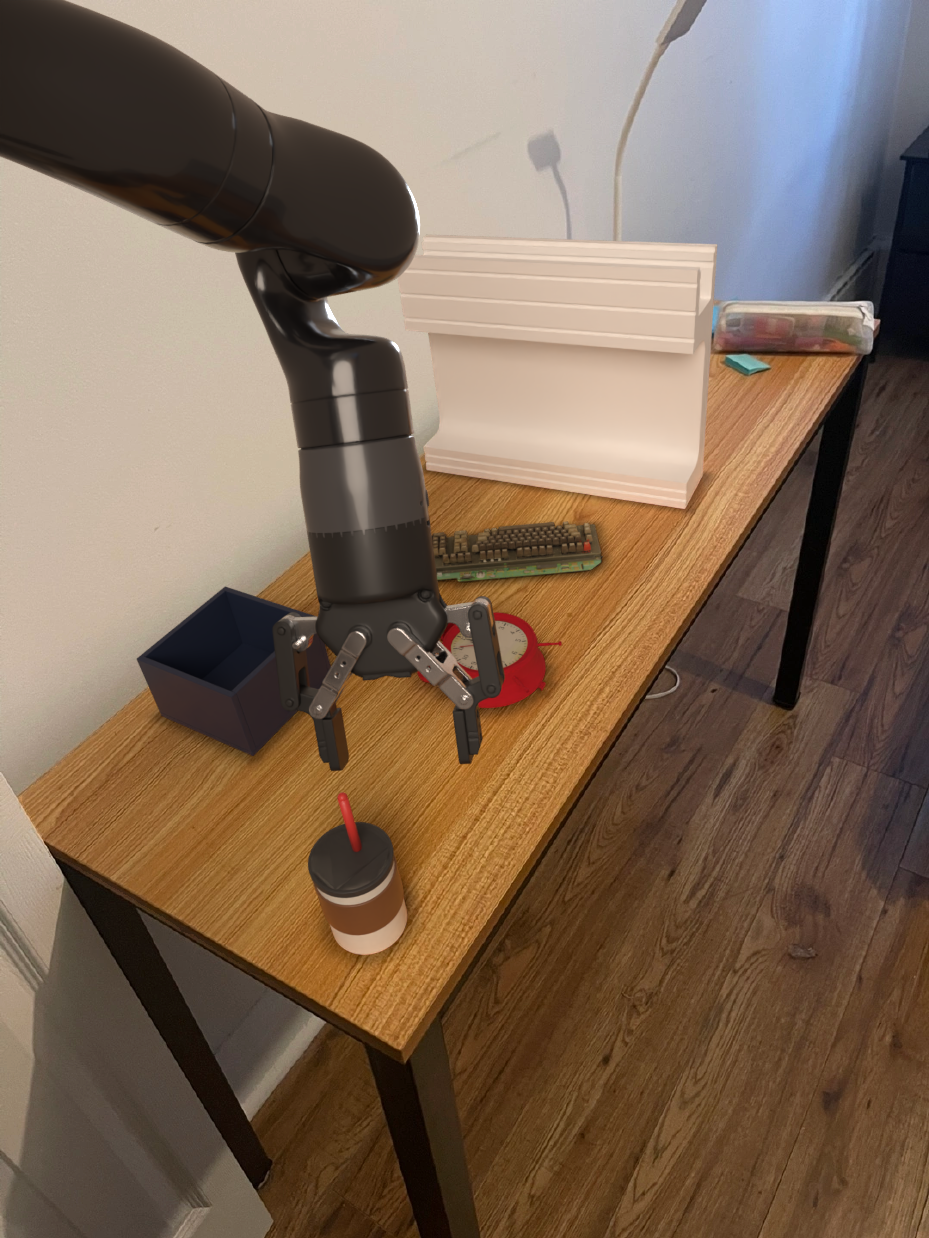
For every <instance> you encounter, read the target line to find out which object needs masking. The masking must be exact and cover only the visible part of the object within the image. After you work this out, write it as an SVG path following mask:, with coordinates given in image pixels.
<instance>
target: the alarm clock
mask: <svg viewBox="0 0 929 1238" xmlns="http://www.w3.org/2000/svg"><path fill="white" fill-rule="evenodd" d="M493 613H494V619H495V624H496V630H497V635H498V641H499V646H500V652H501V658H502V663H503V669H504V674H505V680H504V683H503V684H502V689H501V692H500V694H499V695H498V696H497V697H495V698H487V699H485V700H483V701H481V702H479V703H478V705H479V709H480V708H481V709H494V708H495V709H496V708H501V707H507V706H510V705H514V704H517V703H519V702H521V701H523V700H525V699H526V698H527V697H530V696H531V695H532V694H533V693H534V692H536V690H537V689H540V691H541V692H542V691H543V690H544V688H545V687H546V685H547V683H546V682H545V681H544V679H545V675H546V672H547V671H546V660H545V656H544V654H543V653H542V651H541V650H540V648H539V647H549V646H559V647H561V646H563V643H562V641H561V640H559V641H557V642H539V641H538V636H537V633H536V632H535V630H534V628H533V627H532V626H531V625H530V623H529V622H528V621H526V620H524V619H523V618H521V617H519V616H517V615H514V614H511V613H505V612H498V611H497V612H496V611H493ZM440 641H441V643H442V644H443V645H444V646H445V647H446V648H447V649H448V650H449V651H450V652H451V654H452V655H453V656H454V657H455V658H456V660H457V662H458V664H459V665H460V666H461V667H462V668H463V669H464V670H465V671H466V673H467V674H468V675H469V676H470V677H471V678H472V679H473V678H476V677H478V676H479V673H478V668H477V662H476V657H475V652H474V646H473V641H472V638H466V637H464V636H463V635H462V634H461V632H460V630H459V628H458V626H457V625H455V624H453V623H449V624H448V626H447V627H446V629H445V631H444V633H443V634H442V636H441V638H440ZM538 642H539V643H538ZM428 667H429V668H431V667H430V666H428ZM416 674H417V676H418V678H419V680H420V681H422V682H423V683H428V684H431V683H430V682H429V681H428V680H427V679H426V678H425V677H424V676H423V675H422V674H421V673H420V672H419V671H418V672H416Z"/></svg>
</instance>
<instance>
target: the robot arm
mask: <svg viewBox="0 0 929 1238" xmlns="http://www.w3.org/2000/svg"><path fill="white" fill-rule="evenodd" d="M0 158H3V159H5V160H8V161H10V162H12V163H16V164H18V165H20V166H23V167H26V168H28V169H30V170H32V171H35V172H37V173H40V174H41V175H45V176H47V177H50V178H52V179H54V180H56V181H59V182H60V183H61V182H62V183H64V184H67V185H69V186H71V187H73V188H76V189H78V190H80V191H83V192H84V193H87V194H90V195H92V196H93V197H96V198H98V199H100V200H103V201H104V202H107V203H109V204H112V205H114V206H116V207H118V208H120V209H123V210H125V211H127V212H129V213H131V214H133V215H134V216H135V215H136V216H137V217H139V218H142V219H144V220H145V221H148V222H150V223H152V224H155V225H157V226H159V227H161V228H164V229H165V230H168V231H171V232H173V233H175V234H177V235H179V236H182V237H183V238H186V239H188V240H191V241H193V242H195V243H197V244H200V245H202V246H204V247H207V248H210V249H214V250H218V251H221V252H227V253H234V255H235V258H236V262H237V266H238V269H239V271H240V275H241V277H242V279H243V281H244V284H245V286H246V288H247V291H248V293H249V295H250V297H251V300H252V302H253V304H254V306H255V308H256V311H257V313H258V315H259V317H260V320H261V322H262V325H263V327H264V329H265V332H266V335H267V337H268V339H269V342H270V344H271V347H272V349H273V351H274V354H275V356H276V358H277V360H278V363H279V365H280V367H281V370H282V373H283V375H284V378H285V380H286V383H287V389H288V396H289V402H290V409H291V415H292V422H293V428H294V434H295V441H296V446H297V448H298V450H297V454H298V466H299V467H298V468H299V470H298V471H299V473H298V474H299V491H300V498H301V504H302V510H303V511H302V512H303V516H304V522H305V523H304V524H305V528H306V529H305V530H306V535H307V541H308V547H309V553H310V554H309V555H310V560H311V565H312V572H313V578H314V585H315V590H316V596H317V600H318V606H319V608H318V615H317V617H301V616H300V615H299V614H298V613H295V612H291V613H289V614H287V615H286V616H285V617H283V618H282V619H281V620H279V621H278V622H277V623H275V624H274V626H273V628H272V632H273V640H274V649H275V658H276V666H277V675H278V684H279V693H280V701H281V706H282V707H283V708H284V709H285V710H286V711H295V710H298V711H297V712H302V713H306V714H307V715H309V716H310V718H311V719H312V721H313V726H314V732H315V737H316V742H317V743H316V744H317V749H318V755H319V758H320V760H321V761H322V763H323V764H328V766H329V770H330V772H343V771H344V769H345V767H346V766H347V765H348V763H349V760H350V754H349V747H348V740H347V735H346V734H347V733H346V728H345V721H344V717H343V710H342V707H337V703H338V702H339V699H340V698H341V696H342V694H343V692H344V691H345V689H346V687H347V685H348V684H349V683H350V681H351V680H352V679H353V677H354V675H355V676H356V677H358V678H362V681H363V682H365V681H375V680H378V679H382V678H384V677H392V678H396V679H397V678H398V679H404V678H412V676H413V675H414V674H417V672H418V671H419V672H420V673H421V674H422V675H423V676H424V677H425V678H426V679H427V680H428V681H429V682H430V683H429V684H430V685H431V686H433V687H435V688H438V689H439V690H440V691H441V692H442V693H443V694H444V695H445V696H446V697H447V698H448V699H449V700H450V701H451V702H452V703H453V704H454V708H453V710H452V720H453V726H454V728H453V729H454V734H455V735H454V736H455V743H456V750H457V758H458V763H459V765H471V764H472V763H473V760H474V757H475V756H477V755H479V752H480V749H481V746H482V743H483V739H484V738H483V730H482V722H481V721H482V720H481V713H480V708H479V705H478V703H479V702H481V701H483V700H485V699H487V698H495V697H497V696H498V695H499V694H500V692H501V689H502V684H503V683H504V680H505V674H504V669H503V663H502V658H501V652H500V646H499V641H498V635H497V630H496V624H495V619H494V613H493V612H494V608H493V603H492V601H491V599H490V598H489V597H487V596H484V595H480V596H477V597H476V598H475V599H474V600H473V601H469V602H463V603H456V604H447V603H446V602H445V601H444V599H443V597H442V595H441V592H440V589H439V588H440V587H439V581H438V580H437V572H436V565H435V557H434V550H433V542H432V535H433V534H432V527H431V519H430V512H429V507H430V498H429V492H428V489H427V488H426V481H425V476H424V469H423V465H422V461H421V458H420V454H419V451H418V447H417V442H416V437H415V435H414V433H415V429H414V422H413V414H412V407H411V400H410V391H409V384H408V378H407V371H406V364H405V359H404V356H403V353H402V351H401V349H400V347H399V346H398V344H397V343H396V342H394V340H392V339H389V338H387V337H385V336H381V335H373V334H372V335H371V334H359V333H349V332H346V331H344V329H343V328H342V326H341V325H340V324H339V322H338V320H337V318H336V317H335V315H334V313H333V311H332V309H331V307H330V304H329V300H328V298H330V297H336V296H340V295H345V294H350V293H356V292H361V291H366V290H372V289H375V288H380V287H383V286H385V285H389V284H390V283H393V281H396V279H397V280H398V277H399V276H401V275H402V274H403V273H404V271H405V270H406V269H407V268H408V267H409V265H410V264H411V262H412V260H413V258H414V256H415V255H416V253H417V250H418V247H419V243H420V238H421V237H420V236H421V235H420V234H421V223H420V221H421V220H420V214H419V210H418V206H417V203H416V199H415V197H414V195H413V192H412V190H411V188H410V187H409V184H408V182H407V181H406V180H405V178H404V177H403V175H402V174H401V172H400V171H399V170H398V169H397V168H396V166H394V164H393V163H392V162H391V161H390V160H389V159H388V158H386V157H385V156H384V155H383V154H381V153H380V152H379V151H378V150H377V149H375V148H373V147H372V146H370V145H368V144H366V143H365V142H362V141H360V140H358V139H356V138H354V137H351V136H348V135H345V134H343V133H340V132H337V131H335V130H332V129H329V128H325V127H322V126H320V125H317V124H315V123H311V122H308V121H306V120H302V119H299V118H295V117H292V116H288V115H282V114H278V113H275V112H271V111H270V110H267V109H265V108H264V107H262V106H261V105H260V104H258V103H257V102H256V101H255V100H254V99H252V98H250V97H249V96H248V95H247V94H245V93H243V92H242V91H241V90H239V89H238V88H236V87H235V86H234V85H232V84H231V83H229V82H228V81H226V80H225V78H222V77H221V76H220V75H218V74H217V73H215V72H214V71H213V70H211V69H209V68H208V67H207V66H205V65H204V64H202V63H201V62H198V61H197V60H196V59H194V58H193V57H191V56H190V55H188V54H187V53H184V51H181V50H180V49H178V48H177V47H175V46H174V45H172V44H171V43H168V42H166V41H164V40H162V39H161V38H158V37H157V36H155V35H153V34H150V33H148V32H146V31H143V30H141V29H140V28H137V27H135V26H133V25H130V24H128V23H125V22H123V21H120V20H118V19H115V18H113V17H110V16H107V15H105V14H103V13H100V12H98V11H95V10H93V9H90V8H87V7H85V6H82V5H80V4H76V3H74V2H71V1H69V0H0ZM449 623H453V624H455V625H457V626H458V628H459V630H460V632H461V634H462V635H463V636H464V637H466V638H472V641H473V646H474V652H475V657H476V662H477V668H478V673H479V676H478V677H476V678H473V679H472V678H471V677H470V676H469V675H468V674H467V673H466V671H465V670H464V669H463V668H462V667H461V666H460V665H459V664H458V662H457V660H456V658H455V657H454V656H453V655H452V654H451V652H450V651H449V650H448V649H447V648H446V647H445V646H444V645H443V644H442V643H443V642H442V641H441V639H440V638H441V636H442V634H443V633H444V631H445V629H446V627H447V626H448V624H449ZM314 634H317V635H318V637H319V638H320V639H321V641H322V642H323V643H324V644H325V646H326V648H328V649H329V650H330V651H331V652H332V653H333V655H335V659H334V661H333V662H332V664H331V668H330V670H329V671H328V673H327V675H326V677H325V678H324V680H323V682H322V685H321V687H320V689H315V688H311V687H310V684H309V674H308V665H307V656H306V649H307V648H308V647H309V646H310V645H311V644H312V641H313V635H314ZM428 666H430V667H431V668H429V667H428Z"/></svg>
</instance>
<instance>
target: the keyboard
mask: <svg viewBox="0 0 929 1238" xmlns="http://www.w3.org/2000/svg"><path fill="white" fill-rule="evenodd" d="M432 542H433V550H434V557H435V565H436V572H437V580H438V582H441V581H442V582H443V581H449V580H457V582H458V583H467V582H477V581H486V580H487V581H488V580H497V579H500V580H501V579H503V580H504V579H509V578H525V577H537V576H549V575H550V576H551V575H555V574H573V573H580V572H587V571H589V572H590V571H592V570H593V569H594V568H597V567H598V566H599V565H600V564H602V563H603V557H604V556H603V555H602V550H601V546H600V540H599V537H598V533H597V528H596V525H595V524H594V523H592V524H590V523H589V522H584V523H583V524H580V525H577V524H576V523H572V524H570V523H569V520H568V521H563V522H562V524H561V525H560V524H559V525H556V526H555V522H554V521H547V522H537V523H536V522H535V523H525V524H524V523H523V524H514V525H503V526H498V528H497V527H492V528H491V529H490V528H484V530H483V532H478V533H477V534H468V532H467V530H455V531H454V532H453V536H447V534H446V532H443V531H441V532H433V534H432Z"/></svg>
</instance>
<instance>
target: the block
mask: <svg viewBox="0 0 929 1238" xmlns="http://www.w3.org/2000/svg"><path fill="white" fill-rule="evenodd" d="M421 248H422V251H423V254H415V256H414V258H413V260H412V262H411V264H410V265H409V267H408V268H407V269H406V270H405V271H404V273H403V274H402V275H401V276H399V277H398V278H397V284H398V291H399V293H400V303H401V309H402V317H404V320H403V323H404V331H406V332H417V333H418V332H419V333H427V335H428V342H429V348H430V357H431V364H432V371H433V379H434V380H433V381H434V385H435V393H436V402H437V408H438V417H439V425H438V428H437V431H436V432H435V434H434V435H433V436H432V437H431V438H430V439H429V440H428V441H427V442H426V443H425V444H424V445H423V446H422V448H423V453H425V454H424V461H425V462H426V463H425V468H426V471H431V472H439V473H445V474H450V475H451V474H452V475H458V476H464V477H465V476H466V477H470V478H479V479H484V480H491V481H497V482H504V483H510V484H518V485H523V486H524V485H525V486H530V487H538V488H545V489H550V490H556V491H564V492H571V493H577V494H582V495H591V496H596V497H603V498H610V499H617V500H621V501H623V500H624V501H628V502H629V501H630V502H636V503H643V504H650V505H656V506H662V507H669V508H676V509H681V510H685V509H687V506H688V505H689V502H691V501H690V500H691V499H692V497H693V495H694V493H695V491H696V489H697V487H698V485H699V483H700V482H701V480H702V479H703V475H704V460H705V445H706V444H705V443H706V431H707V430H706V429H707V414H708V400H709V382H710V366H711V351H712V338H713V337H712V334H713V320H714V307H715V306H714V305H715V289H716V288H715V287H716V274H717V257H718V256H717V255H718V244H717V243H693V242H692V243H690V242H688V243H687V242H665V241H664V242H662V241H661V242H659V241H633V240H632V241H631V240H629V241H628V240H604V239H603V240H599V239H573V238H542V237H541V238H540V237H512V236H511V237H509V236H483V235H482V236H481V235H456V234H455V235H454V234H453V235H452V234H451V235H449V234H425V235H423V236H422V241H421Z"/></svg>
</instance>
